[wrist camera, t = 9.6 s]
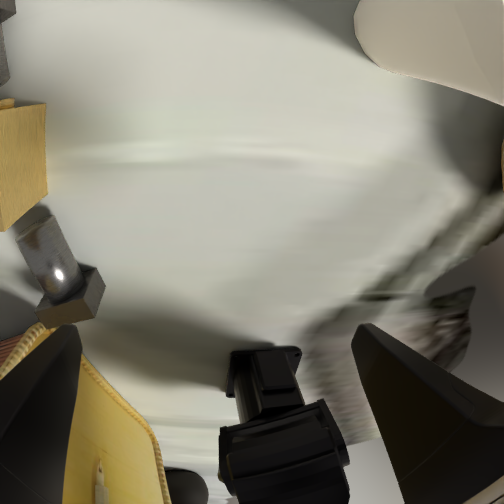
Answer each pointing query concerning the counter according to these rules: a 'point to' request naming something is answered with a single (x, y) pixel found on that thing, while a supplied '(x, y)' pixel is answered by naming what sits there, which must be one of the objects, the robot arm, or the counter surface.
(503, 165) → the cantaloupe
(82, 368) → the picnic basket
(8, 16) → the shaft
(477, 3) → the foam cup
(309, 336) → the counter surface
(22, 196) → the tan block
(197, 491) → the cola bottle
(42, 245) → the shaft
